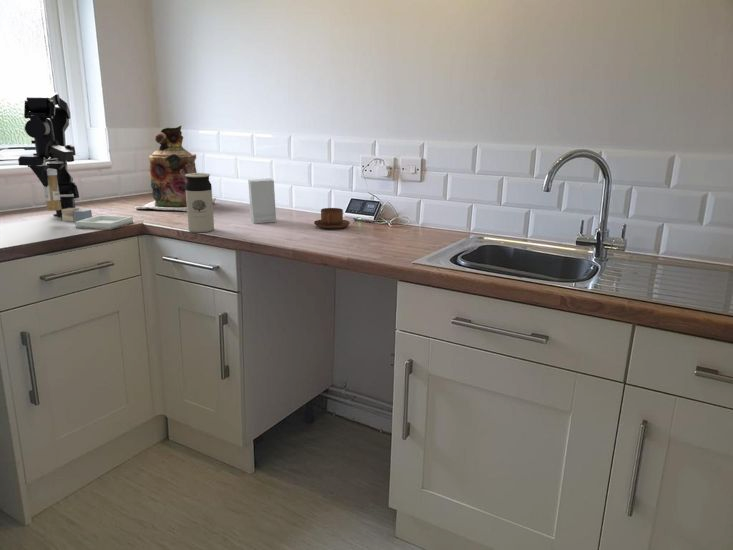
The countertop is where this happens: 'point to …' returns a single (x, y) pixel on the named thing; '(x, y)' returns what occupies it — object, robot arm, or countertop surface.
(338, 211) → the cup and saucer
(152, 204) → the cookie jar
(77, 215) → the slate block
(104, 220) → the sage tray
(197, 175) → the travel mug
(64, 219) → the birch block
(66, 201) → the robot arm
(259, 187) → the skincare box
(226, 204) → the countertop surface
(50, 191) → the sprinkles bottle
